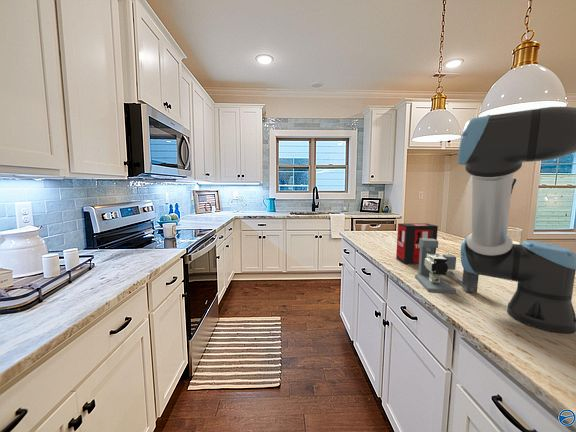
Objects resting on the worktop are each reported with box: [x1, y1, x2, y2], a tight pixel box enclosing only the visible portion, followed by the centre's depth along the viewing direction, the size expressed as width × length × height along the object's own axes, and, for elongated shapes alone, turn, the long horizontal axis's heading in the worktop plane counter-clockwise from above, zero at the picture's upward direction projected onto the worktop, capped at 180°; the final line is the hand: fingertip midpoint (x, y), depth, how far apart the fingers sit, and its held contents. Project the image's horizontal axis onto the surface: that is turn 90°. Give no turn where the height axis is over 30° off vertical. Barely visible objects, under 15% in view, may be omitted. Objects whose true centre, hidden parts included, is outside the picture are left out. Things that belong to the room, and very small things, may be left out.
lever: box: [446, 268, 480, 293], centre depth 106 cm, size 20×4×11 cm, turn 171°
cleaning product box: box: [395, 222, 439, 265], centre depth 136 cm, size 16×9×20 cm, turn 94°
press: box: [414, 238, 457, 294], centre depth 107 cm, size 24×18×17 cm
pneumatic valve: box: [424, 252, 449, 284], centre depth 104 cm, size 6×12×12 cm, turn 170°
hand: (497, 221), depth 102 cm, fingers closed
